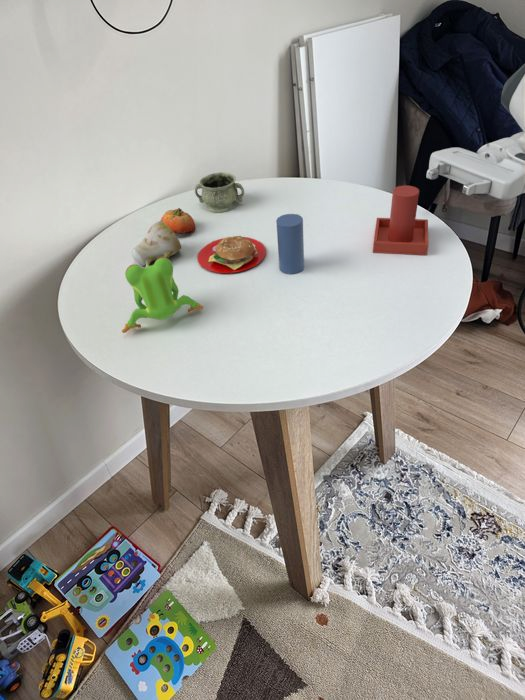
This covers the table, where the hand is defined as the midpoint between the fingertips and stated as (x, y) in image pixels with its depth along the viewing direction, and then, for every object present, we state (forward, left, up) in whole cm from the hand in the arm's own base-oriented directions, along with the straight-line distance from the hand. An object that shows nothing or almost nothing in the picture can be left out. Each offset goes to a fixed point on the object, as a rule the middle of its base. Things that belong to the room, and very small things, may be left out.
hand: (446, 182), depth 96 cm
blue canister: (+28, +19, -9) cm, 35 cm away
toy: (+48, +37, -9) cm, 61 cm away
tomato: (+56, +7, -9) cm, 57 cm away
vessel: (+50, -6, -9) cm, 51 cm away
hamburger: (+41, +16, -9) cm, 45 cm away
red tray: (+8, +7, -9) cm, 14 cm away
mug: (+56, +19, -9) cm, 60 cm away
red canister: (+8, +7, -9) cm, 14 cm away
